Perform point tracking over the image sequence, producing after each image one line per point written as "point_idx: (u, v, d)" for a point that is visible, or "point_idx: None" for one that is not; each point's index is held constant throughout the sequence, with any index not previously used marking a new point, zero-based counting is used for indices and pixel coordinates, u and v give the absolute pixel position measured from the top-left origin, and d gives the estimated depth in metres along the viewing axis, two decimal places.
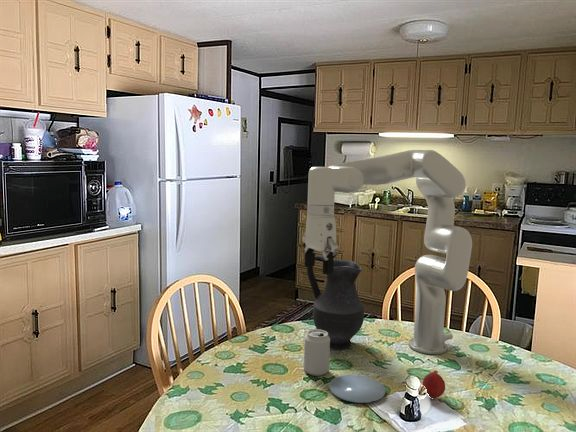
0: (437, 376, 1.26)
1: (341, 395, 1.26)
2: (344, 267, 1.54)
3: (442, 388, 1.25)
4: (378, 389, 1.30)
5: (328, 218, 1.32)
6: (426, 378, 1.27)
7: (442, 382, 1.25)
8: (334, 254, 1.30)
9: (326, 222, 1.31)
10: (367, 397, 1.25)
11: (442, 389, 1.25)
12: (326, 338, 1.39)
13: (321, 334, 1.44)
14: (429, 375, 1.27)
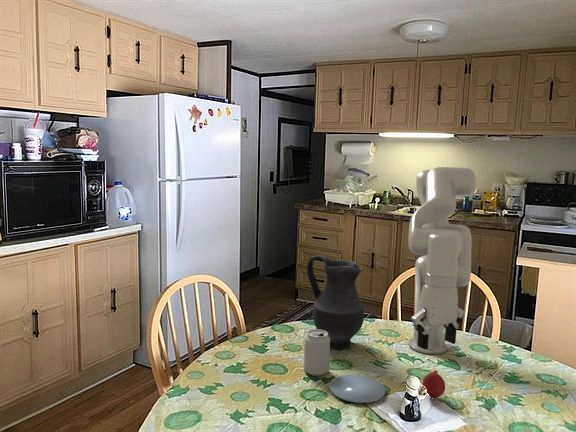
0: (437, 376, 1.26)
1: (341, 395, 1.26)
2: (344, 267, 1.54)
3: (442, 388, 1.25)
4: (378, 389, 1.30)
5: None
6: (426, 378, 1.27)
7: (442, 382, 1.25)
8: None
9: None
10: (367, 397, 1.25)
11: (442, 389, 1.25)
12: (326, 338, 1.39)
13: (321, 334, 1.44)
14: (429, 375, 1.27)
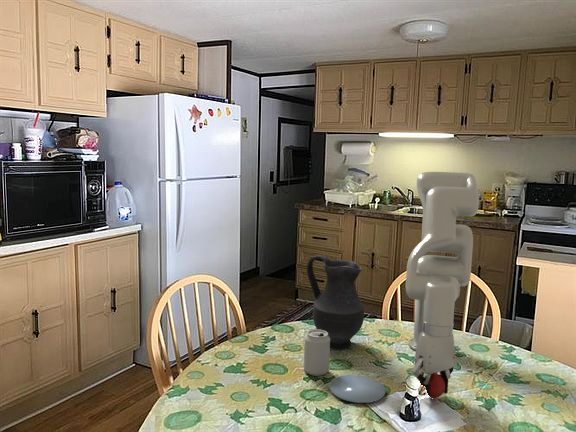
0: (437, 376, 1.26)
1: (341, 395, 1.26)
2: (344, 267, 1.54)
3: (442, 388, 1.25)
4: (378, 389, 1.30)
5: None
6: None
7: (442, 382, 1.25)
8: None
9: None
10: (367, 397, 1.25)
11: (442, 389, 1.25)
12: (326, 338, 1.39)
13: (321, 334, 1.44)
14: None
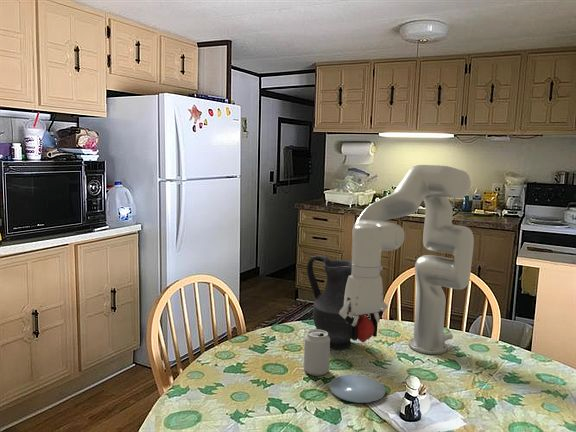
0: (366, 319, 1.27)
1: (341, 395, 1.26)
2: (344, 267, 1.54)
3: (370, 330, 1.26)
4: (378, 389, 1.30)
5: None
6: None
7: (370, 324, 1.27)
8: None
9: None
10: (367, 397, 1.25)
11: (370, 331, 1.26)
12: (326, 338, 1.39)
13: (321, 334, 1.44)
14: (358, 318, 1.28)
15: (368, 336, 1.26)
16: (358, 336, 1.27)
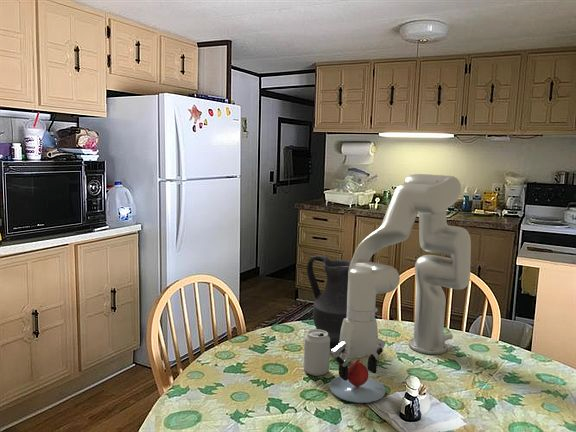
0: (360, 365, 1.29)
1: (341, 395, 1.26)
2: (344, 267, 1.54)
3: (364, 376, 1.28)
4: (378, 389, 1.30)
5: None
6: (350, 367, 1.30)
7: (365, 370, 1.28)
8: None
9: None
10: (367, 397, 1.25)
11: (364, 377, 1.28)
12: (326, 338, 1.39)
13: (321, 334, 1.44)
14: (352, 364, 1.30)
15: (362, 382, 1.28)
16: (352, 382, 1.28)
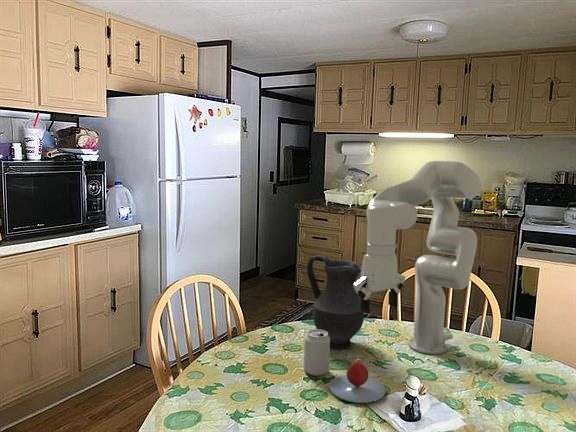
0: (360, 365, 1.29)
1: (341, 395, 1.26)
2: (344, 267, 1.54)
3: (364, 376, 1.28)
4: (378, 389, 1.30)
5: None
6: (349, 367, 1.30)
7: (364, 370, 1.28)
8: None
9: None
10: (367, 397, 1.25)
11: (364, 377, 1.28)
12: (326, 338, 1.39)
13: (321, 334, 1.44)
14: (352, 364, 1.30)
15: (362, 382, 1.28)
16: (353, 382, 1.28)
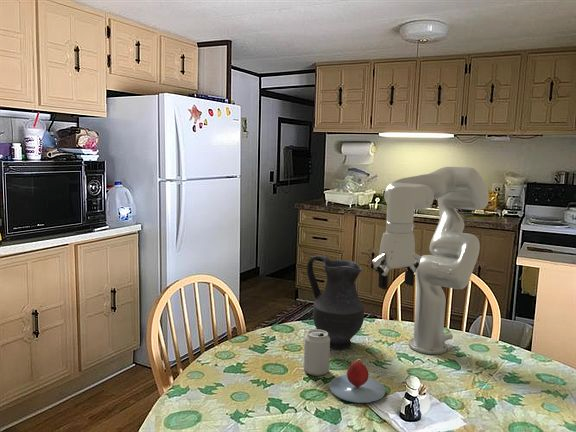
0: (360, 365, 1.29)
1: (341, 395, 1.26)
2: (344, 267, 1.54)
3: (365, 376, 1.28)
4: (378, 389, 1.30)
5: None
6: (350, 367, 1.30)
7: (365, 370, 1.28)
8: None
9: None
10: (367, 397, 1.25)
11: (365, 377, 1.28)
12: (326, 338, 1.39)
13: (321, 334, 1.44)
14: (353, 364, 1.30)
15: (363, 382, 1.28)
16: (353, 382, 1.28)
